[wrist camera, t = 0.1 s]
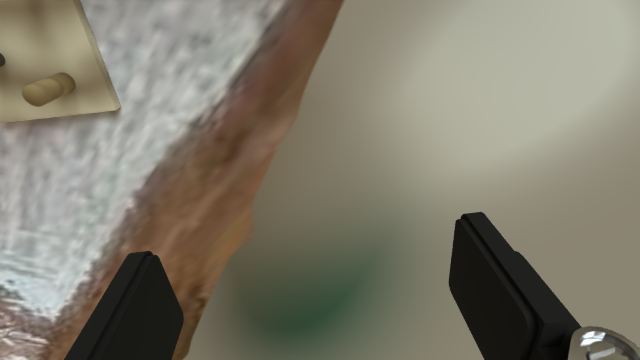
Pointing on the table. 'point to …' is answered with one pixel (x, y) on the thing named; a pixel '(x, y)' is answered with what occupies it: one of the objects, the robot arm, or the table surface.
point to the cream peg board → (50, 62)
